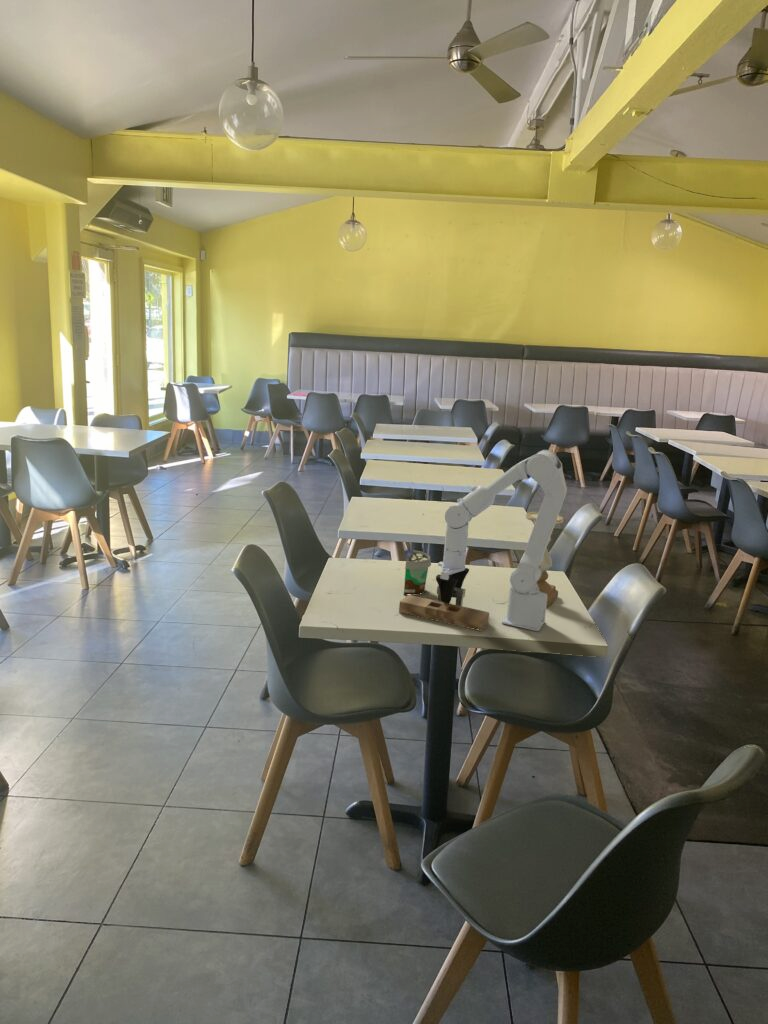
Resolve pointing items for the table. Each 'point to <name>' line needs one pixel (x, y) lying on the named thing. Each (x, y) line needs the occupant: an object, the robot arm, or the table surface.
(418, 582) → the food container
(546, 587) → the candle holder
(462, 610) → the brown slotted holder
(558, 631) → the table surface
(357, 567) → the table surface
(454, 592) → the grey block
